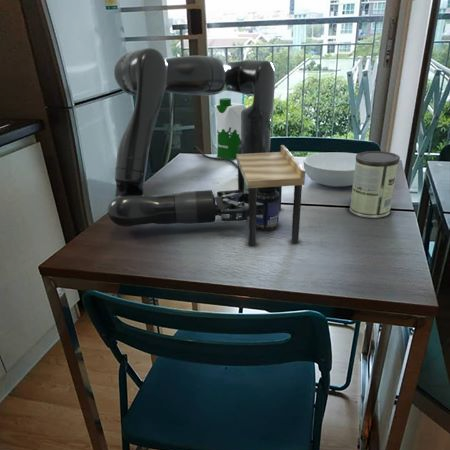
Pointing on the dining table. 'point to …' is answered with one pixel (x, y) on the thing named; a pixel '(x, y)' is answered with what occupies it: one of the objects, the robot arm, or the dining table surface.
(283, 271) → the dining table surface
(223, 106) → the milk carton
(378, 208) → the coffee can
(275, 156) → the shelf riser
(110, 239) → the dining table surface
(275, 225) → the pill bottle
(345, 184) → the serving bowl
